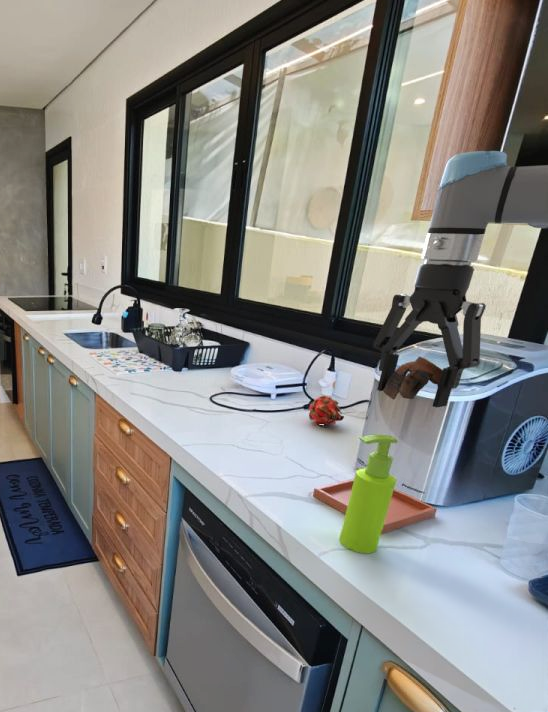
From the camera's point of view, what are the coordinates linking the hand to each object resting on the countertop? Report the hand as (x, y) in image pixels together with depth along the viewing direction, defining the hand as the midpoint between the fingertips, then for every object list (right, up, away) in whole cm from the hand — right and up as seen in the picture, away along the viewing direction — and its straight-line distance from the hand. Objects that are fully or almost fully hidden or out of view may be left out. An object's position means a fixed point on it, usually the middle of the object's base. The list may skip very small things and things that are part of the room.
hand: (410, 397), depth 89 cm
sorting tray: (-1, -21, +11) cm, 24 cm away
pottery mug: (0, -1, 0) cm, 1 cm away
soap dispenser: (-10, -26, -1) cm, 28 cm away
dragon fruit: (+10, -3, +57) cm, 58 cm away
